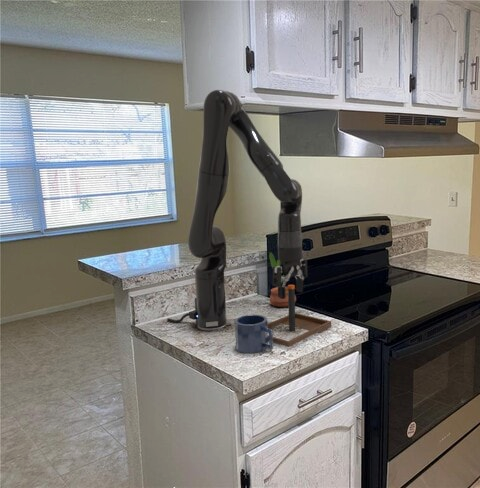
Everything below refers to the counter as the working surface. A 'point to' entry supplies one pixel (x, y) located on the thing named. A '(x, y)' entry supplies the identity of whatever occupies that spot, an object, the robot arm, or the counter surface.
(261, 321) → the mug
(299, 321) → the tray
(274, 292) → the potted flower
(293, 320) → the marker
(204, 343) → the counter surface
